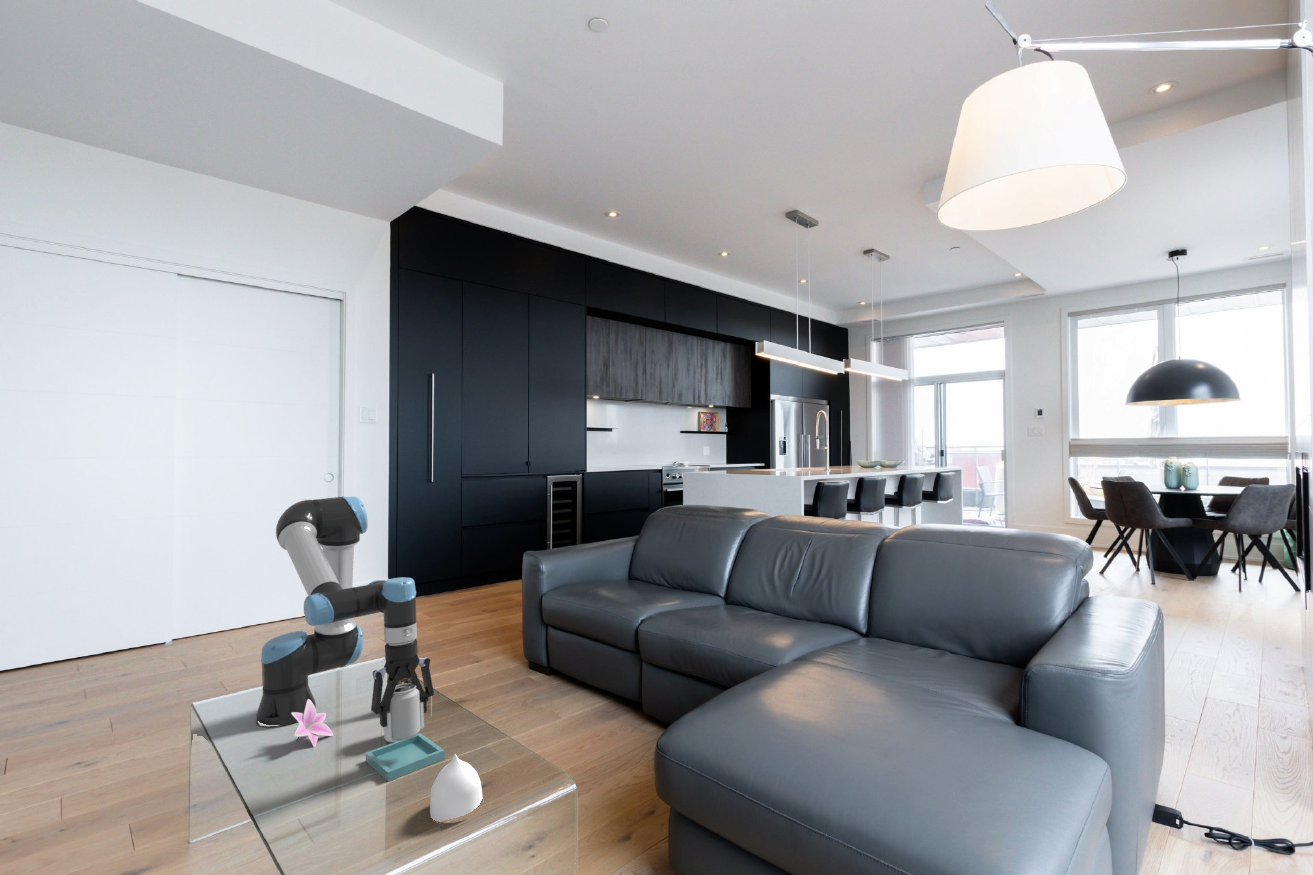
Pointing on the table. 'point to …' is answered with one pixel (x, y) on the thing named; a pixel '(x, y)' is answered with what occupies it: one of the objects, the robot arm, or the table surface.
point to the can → (405, 712)
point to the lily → (311, 723)
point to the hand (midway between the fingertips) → (404, 732)
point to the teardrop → (455, 791)
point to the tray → (404, 756)
